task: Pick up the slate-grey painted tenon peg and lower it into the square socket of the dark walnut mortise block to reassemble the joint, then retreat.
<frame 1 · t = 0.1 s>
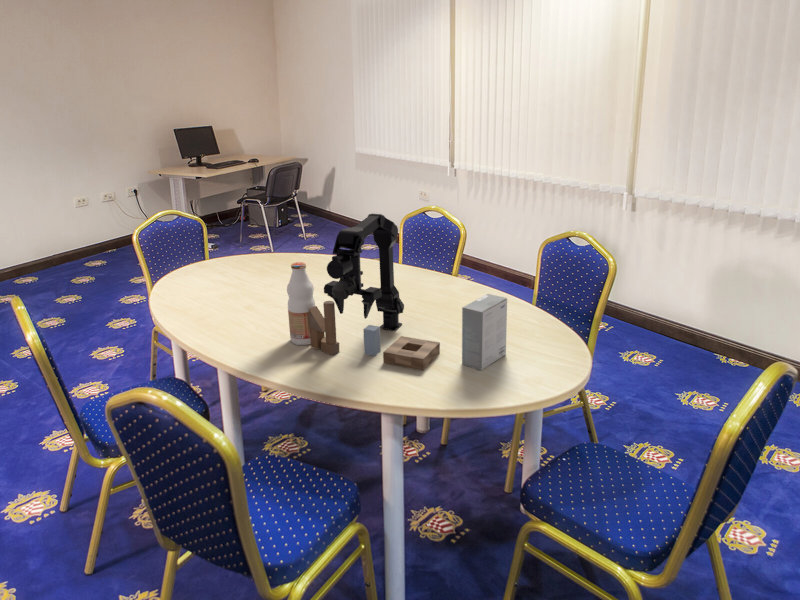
hand: (353, 315, 204), 14 cm above the table, fingers open, 9 cm apart
hard drive box: (483, 360, 205), on the table
mortise block: (411, 358, 207), on the table
fruit juice: (304, 340, 222), on the table
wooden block: (325, 350, 214), on the table
tenon peg: (372, 352, 211), on the table
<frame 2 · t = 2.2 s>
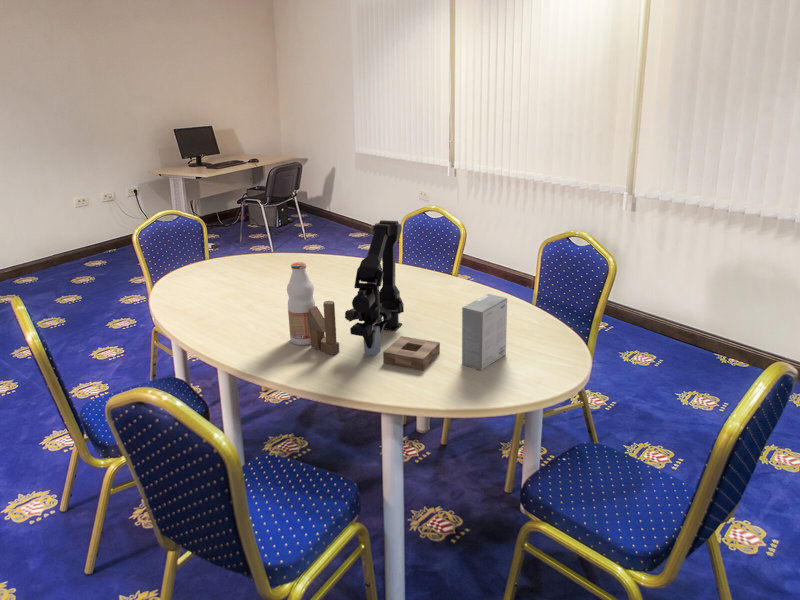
hand: (372, 345, 210), 3 cm above the table, fingers closed on tenon peg, 4 cm apart
tenon peg: (372, 352, 211), on the table, touching gripper
everything else where it was.
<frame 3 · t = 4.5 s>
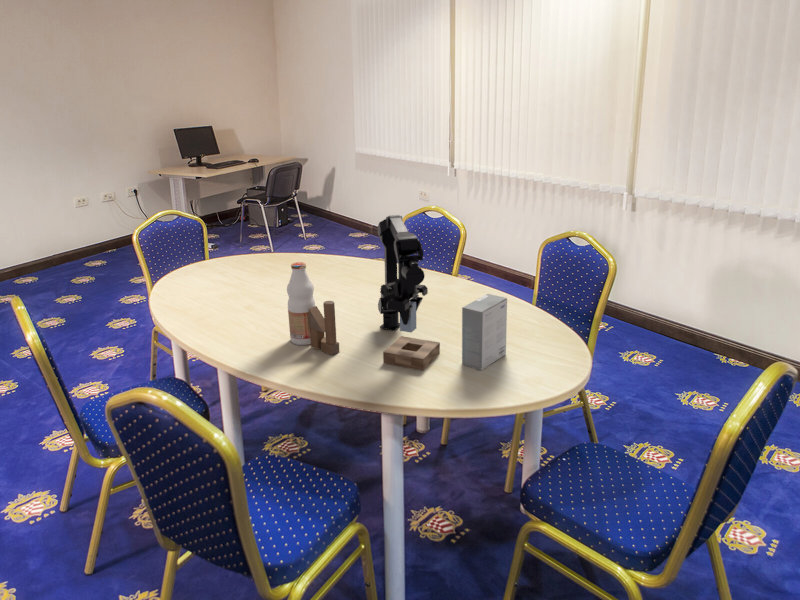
hand: (408, 322, 202), 13 cm above the table, fingers closed on tenon peg, 4 cm apart
tenon peg: (408, 329, 203), point 10 cm above the table, touching gripper
everything else where it was.
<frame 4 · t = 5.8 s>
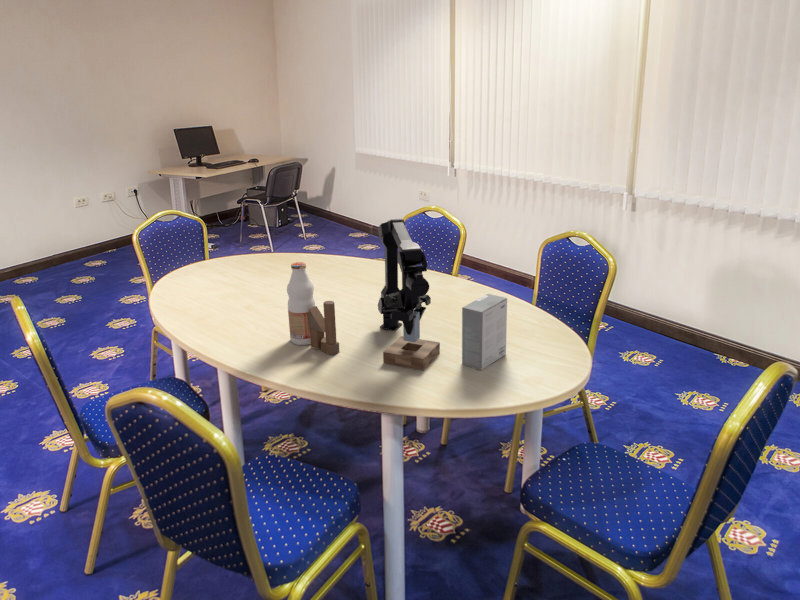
hand: (411, 331, 203), 9 cm above the table, fingers closed on tenon peg, 4 cm apart
tenon peg: (411, 339, 204), point 7 cm above the table, touching gripper
everything else where it was.
when the fingers open (5 cm above the table, at t = 7.0 s): tenon peg drops 1 cm, resting on mortise block.
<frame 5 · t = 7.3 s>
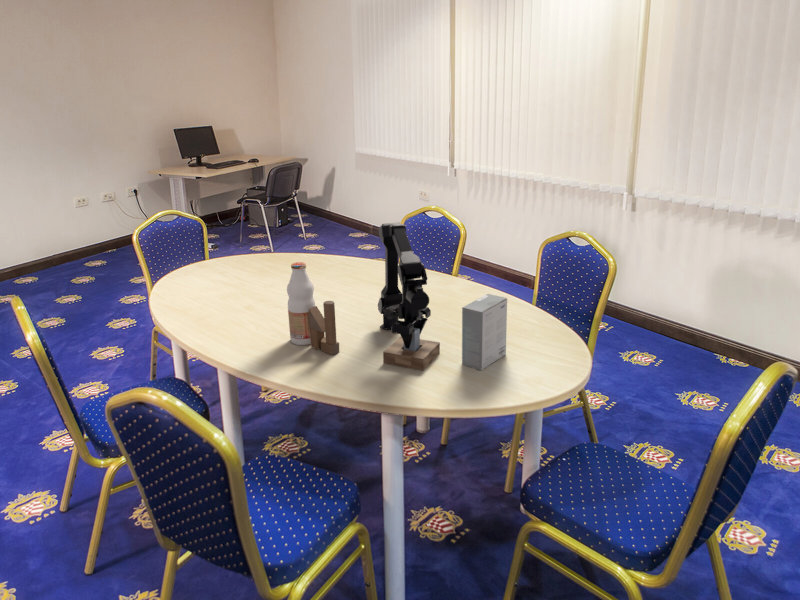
hand: (411, 344, 205), 5 cm above the table, fingers open, 7 cm apart
tenon peg: (411, 355, 206), point 1 cm above the table, touching mortise block
everything else where it was.
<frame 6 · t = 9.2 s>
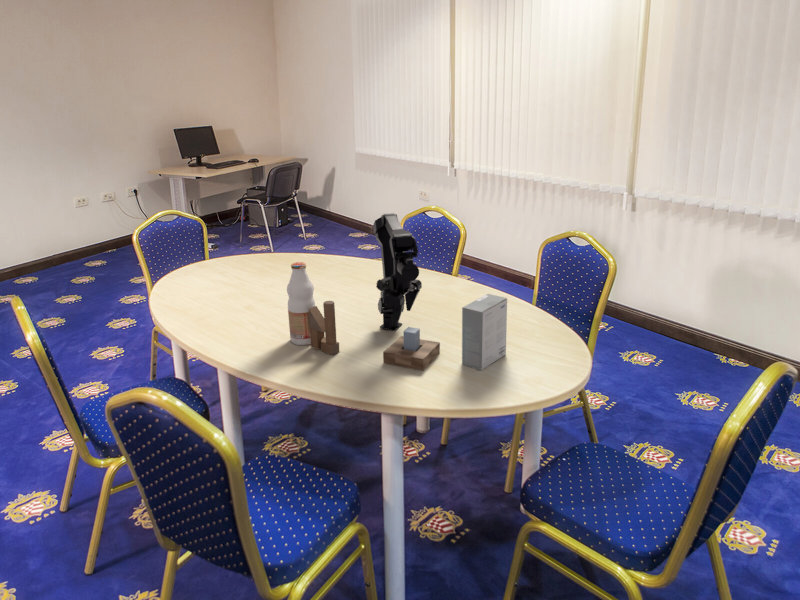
hand: (403, 315, 211), 12 cm above the table, fingers open, 9 cm apart
nothing on the table moved.
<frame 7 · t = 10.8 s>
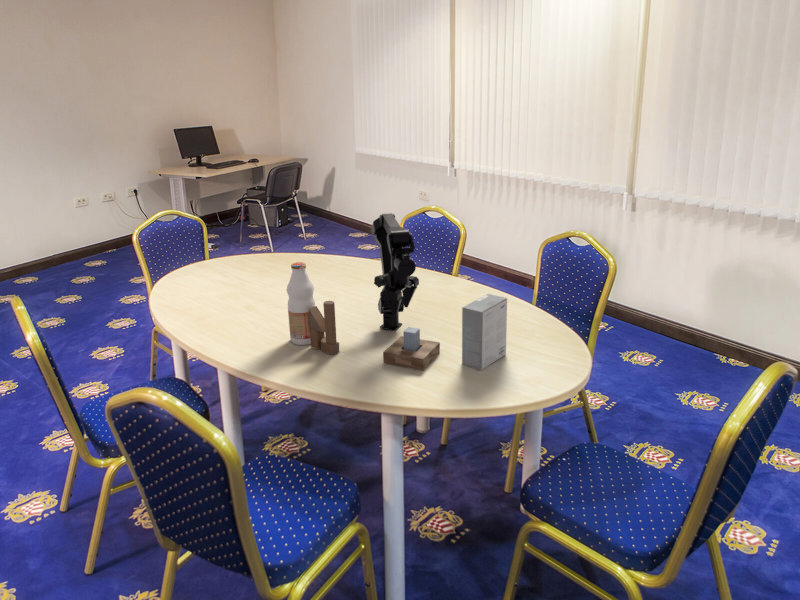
hand: (400, 311, 213), 12 cm above the table, fingers open, 9 cm apart
nothing on the table moved.
at the end: tenon peg 0.0 cm off-centre on the mortise block, point 1.0 cm above the mortise block's base; tenon peg tilted 0°; the gripper is holding nothing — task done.
